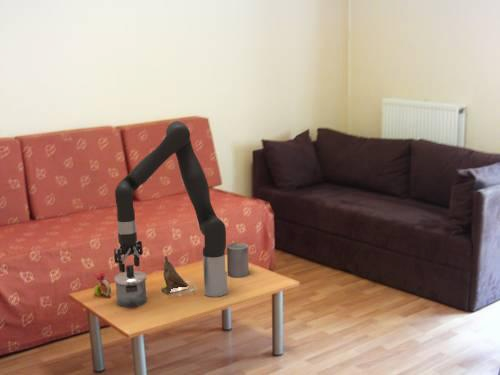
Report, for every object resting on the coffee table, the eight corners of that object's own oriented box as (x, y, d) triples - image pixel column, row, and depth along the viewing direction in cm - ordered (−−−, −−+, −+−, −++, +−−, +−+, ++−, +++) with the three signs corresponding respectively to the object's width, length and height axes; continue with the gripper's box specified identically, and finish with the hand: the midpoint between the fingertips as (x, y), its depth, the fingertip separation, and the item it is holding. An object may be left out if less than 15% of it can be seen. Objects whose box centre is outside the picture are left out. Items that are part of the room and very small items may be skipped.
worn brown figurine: (167, 300, 302) (156, 262, 296) (161, 296, 306) (151, 258, 300) (191, 288, 307) (181, 251, 301) (185, 285, 312) (175, 248, 306)
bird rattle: (114, 299, 304) (101, 286, 308) (119, 278, 298) (106, 266, 303) (102, 303, 299) (90, 291, 304) (107, 282, 294) (94, 270, 299)
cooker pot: (116, 295, 301) (114, 273, 299) (145, 292, 304) (144, 270, 302) (117, 311, 284) (115, 287, 282) (148, 308, 287) (147, 284, 284)
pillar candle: (225, 272, 327) (224, 241, 323) (245, 269, 330) (244, 238, 326) (231, 279, 318) (229, 247, 314) (251, 276, 321) (250, 244, 317)
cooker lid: (145, 272, 299) (144, 259, 298) (147, 282, 287) (146, 269, 286) (114, 275, 297) (113, 262, 296) (114, 285, 284) (113, 272, 283)
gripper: (132, 225, 295) (134, 262, 299) (107, 234, 284) (110, 272, 287) (145, 227, 291) (148, 265, 295) (121, 236, 280) (124, 275, 283)
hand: (129, 269), depth 291 cm, fingers open, 8 cm apart
